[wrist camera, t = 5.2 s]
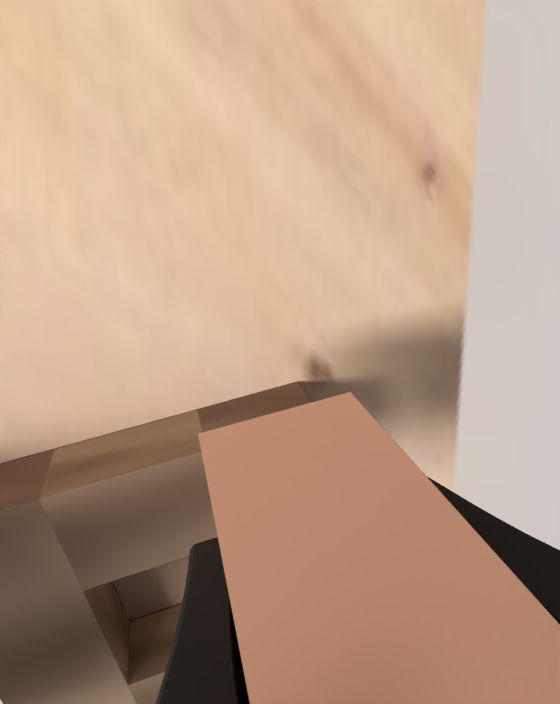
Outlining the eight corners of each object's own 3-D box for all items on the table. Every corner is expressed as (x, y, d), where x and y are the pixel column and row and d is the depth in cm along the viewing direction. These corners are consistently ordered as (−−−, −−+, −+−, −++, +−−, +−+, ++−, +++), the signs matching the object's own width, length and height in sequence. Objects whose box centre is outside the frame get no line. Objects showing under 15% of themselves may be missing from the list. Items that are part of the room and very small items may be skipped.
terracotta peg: (363, 510, 14) (596, 881, 7) (230, 554, 13) (331, 1018, 6) (350, 391, 12) (637, 709, 5) (198, 433, 12) (282, 870, 4)
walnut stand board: (337, 611, 25) (360, 665, 23) (66, 711, 23) (56, 784, 20) (298, 381, 20) (322, 416, 17) (-67, 482, 17) (-105, 541, 15)
